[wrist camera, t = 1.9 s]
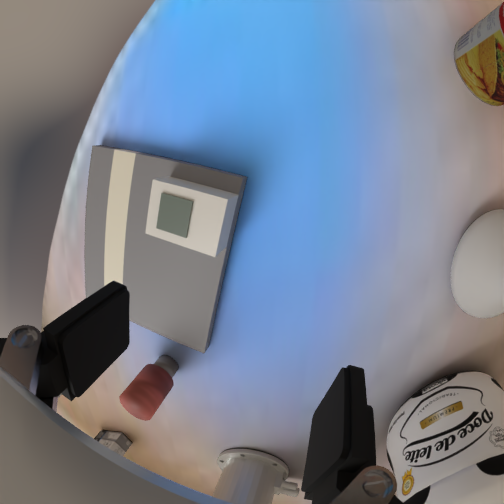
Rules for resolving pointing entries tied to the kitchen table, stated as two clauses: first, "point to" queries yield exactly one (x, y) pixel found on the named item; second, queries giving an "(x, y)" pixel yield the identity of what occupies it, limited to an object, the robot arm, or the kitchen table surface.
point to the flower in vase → (480, 267)
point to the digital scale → (152, 245)
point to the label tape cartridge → (114, 441)
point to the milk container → (450, 442)
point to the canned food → (483, 58)
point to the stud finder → (190, 214)
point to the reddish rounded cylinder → (149, 388)
